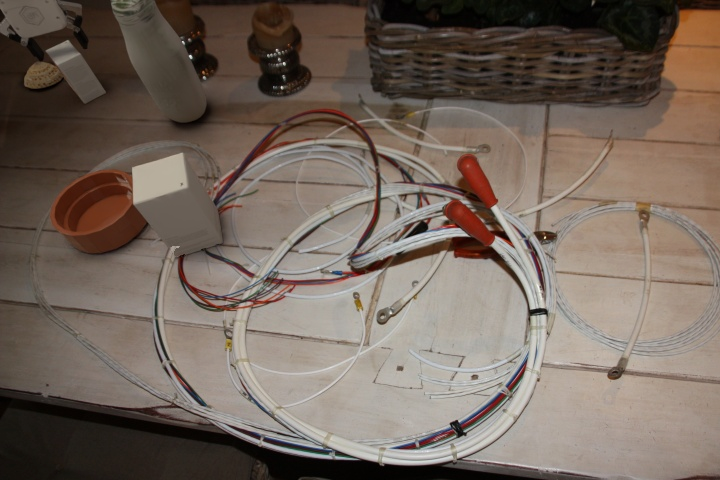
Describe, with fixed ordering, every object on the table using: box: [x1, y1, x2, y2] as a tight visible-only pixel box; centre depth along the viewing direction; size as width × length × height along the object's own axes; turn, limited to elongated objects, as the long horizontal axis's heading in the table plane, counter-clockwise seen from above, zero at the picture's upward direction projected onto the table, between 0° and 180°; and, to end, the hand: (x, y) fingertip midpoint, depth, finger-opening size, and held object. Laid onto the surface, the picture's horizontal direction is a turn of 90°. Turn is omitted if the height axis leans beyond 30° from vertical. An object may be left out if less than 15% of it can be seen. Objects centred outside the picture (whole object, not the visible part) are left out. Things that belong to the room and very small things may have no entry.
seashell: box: [23, 60, 64, 90], centre depth 131 cm, size 8×6×8 cm
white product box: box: [131, 152, 224, 257], centre depth 93 cm, size 9×9×15 cm
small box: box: [44, 39, 107, 105], centre depth 123 cm, size 8×6×10 cm
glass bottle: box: [110, 0, 208, 123], centre depth 107 cm, size 10×10×28 cm
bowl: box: [49, 168, 148, 254], centre depth 101 cm, size 16×16×6 cm
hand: (64, 51), depth 119 cm, fingers open, 9 cm apart
